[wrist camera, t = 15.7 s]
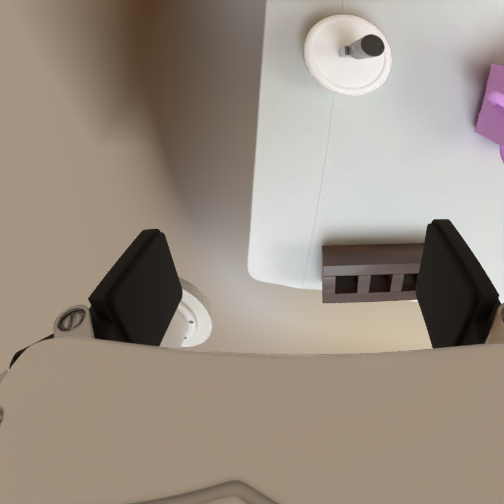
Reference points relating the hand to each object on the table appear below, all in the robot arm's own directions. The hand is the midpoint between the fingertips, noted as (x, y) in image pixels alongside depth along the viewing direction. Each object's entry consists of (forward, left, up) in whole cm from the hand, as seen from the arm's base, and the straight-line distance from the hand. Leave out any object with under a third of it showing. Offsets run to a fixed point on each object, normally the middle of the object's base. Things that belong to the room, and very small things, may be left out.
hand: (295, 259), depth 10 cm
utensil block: (+10, -22, -30) cm, 39 cm away
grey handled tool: (+6, +8, -27) cm, 29 cm away
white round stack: (+6, +8, -31) cm, 32 cm away
